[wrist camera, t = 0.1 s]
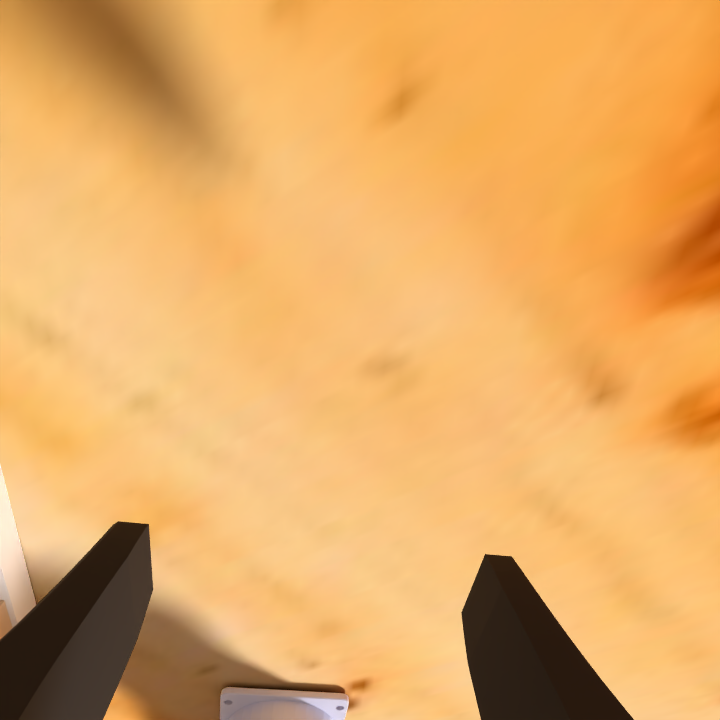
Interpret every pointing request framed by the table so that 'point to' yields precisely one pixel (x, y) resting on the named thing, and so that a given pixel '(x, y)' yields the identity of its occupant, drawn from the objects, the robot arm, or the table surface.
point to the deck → (12, 569)
